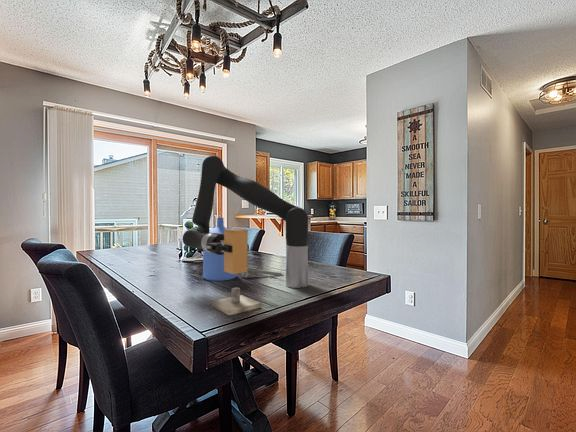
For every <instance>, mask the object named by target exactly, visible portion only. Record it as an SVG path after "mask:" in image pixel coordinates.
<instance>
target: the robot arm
mask: <svg viewBox="0 0 576 432" xmlns="http://www.w3.org/2000/svg"><path fill="white" fill-rule="evenodd" d="M200 176H201V177H200V185H199V191H198V195H197V199H196V204H195V206H194V211H193V216H192V218H191V222H192V223H193V225H195V226H197V227H198V228H199V230H197V229H191V228H190V229H187V230H186V231H184V233H183V235H182V238H181V239H182V243H183V245H185V246H186V247H190V248H194V249H197V250H201V251H202V250H204V251H207V252H210V253H213V254H217V255H223V254H224V252H229V253H232V246H230V245H225V244H224V234H218V233H210V232H209V230H210V221H211V217H212V213H213V210H214V209H213V208H214V199H215V190H216V185H219V186H221V187H224V188H226V189H228V190H230V192H233V193H234V194H236V195H237V196H238V197H240V198H241V199H243V200H245V201H246V202H248V203H250V204H251V205H253V206H255V207H256V208H259V209H261V210H264V211H266V212H269V213H272V214H274V215H275V216H276V217H279V218H280V219H282V220H283V221H284V222H285V286H286V287H288V288H292V289H293V288H294V289H299V288H300V289H302V288H308V287H309V262H308V250H309V237H308V236H309V234H308V233H309V227H308V226H309V214H308V212H307V211H306V210H305V209H304V208H302V207H299V206H296V205H294V204H292V203H291V202H288V201H286V200H284V199H282V198H281V197H280V196H279V195H277V194H276V193H275V192H274V191H272V190H271V189H269V188H268V187H266V186H265V185H263V184H261V183H259V182H257V181H255V180H253V179H250V178H247V177H242V176H240V175H238V174H235V173H234V172H232V171H231V170H230V169H228V168H227V167H226V166H225V165H224V162H223V160H222V159H221V158H220V157H219V156H217V155H208V156H206V157H205V158H204V159H203V162H202V164H201V174H200ZM249 249H250V245H249V244H248V249H247V252H249ZM307 286H308V287H307ZM301 287H302V288H301Z"/></svg>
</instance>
